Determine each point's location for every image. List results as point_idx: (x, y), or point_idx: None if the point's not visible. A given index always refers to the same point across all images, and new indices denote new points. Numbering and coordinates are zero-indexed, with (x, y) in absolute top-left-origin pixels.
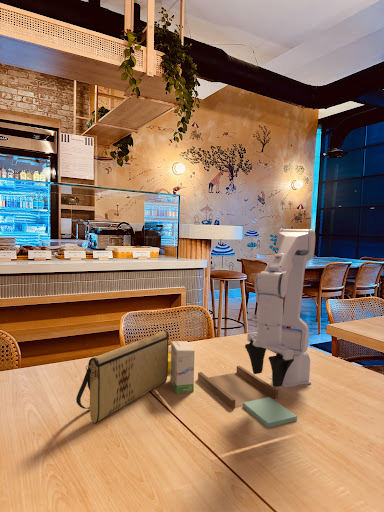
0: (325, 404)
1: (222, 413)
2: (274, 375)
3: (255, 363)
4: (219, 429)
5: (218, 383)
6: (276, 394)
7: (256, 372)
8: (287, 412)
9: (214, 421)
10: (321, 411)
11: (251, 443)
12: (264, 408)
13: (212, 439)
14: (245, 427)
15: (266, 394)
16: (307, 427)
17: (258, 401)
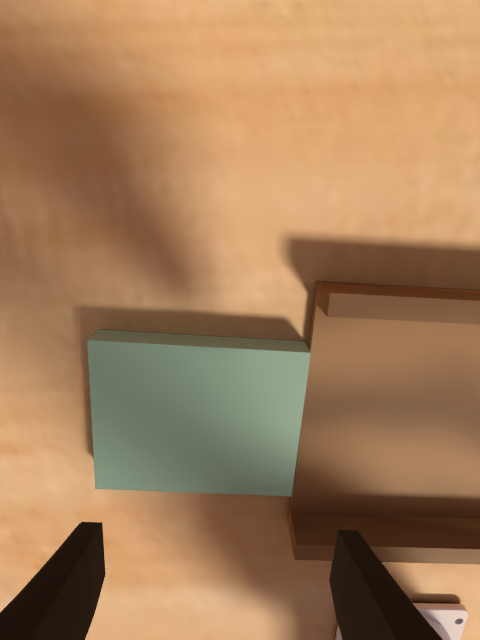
0: (172, 635)
1: (317, 221)
2: (4, 613)
3: (376, 631)
4: (194, 110)
5: None
6: (293, 534)
7: (339, 553)
8: (136, 474)
9: (271, 132)
10: (136, 592)
11: (28, 188)
12: (212, 410)
13: (126, 11)
14: (156, 248)
15: (339, 505)
16: (58, 478)
17: (282, 427)
